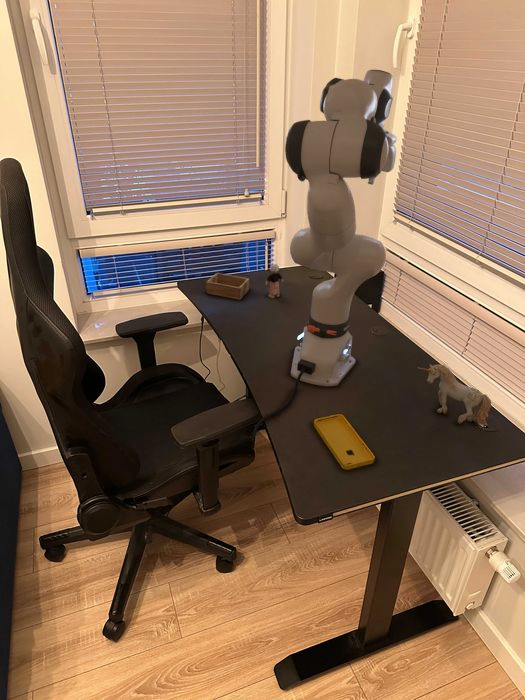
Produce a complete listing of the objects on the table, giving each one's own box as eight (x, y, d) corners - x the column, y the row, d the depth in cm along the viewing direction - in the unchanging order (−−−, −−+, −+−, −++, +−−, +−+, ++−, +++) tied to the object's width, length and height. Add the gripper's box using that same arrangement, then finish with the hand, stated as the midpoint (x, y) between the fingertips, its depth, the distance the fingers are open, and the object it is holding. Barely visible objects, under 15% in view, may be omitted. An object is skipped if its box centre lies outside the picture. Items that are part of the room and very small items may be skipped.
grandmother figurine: (276, 291, 191) (278, 260, 185) (284, 295, 189) (285, 263, 182) (262, 297, 187) (263, 265, 180) (269, 300, 184) (270, 268, 178)
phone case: (341, 417, 129) (341, 413, 128) (375, 462, 115) (376, 458, 114) (312, 423, 126) (312, 419, 125) (344, 470, 113) (344, 466, 112)
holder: (240, 299, 184) (240, 288, 182) (206, 293, 188) (206, 282, 185) (249, 289, 192) (249, 278, 190) (216, 283, 196) (216, 272, 193)
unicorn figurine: (413, 395, 138) (423, 354, 131) (488, 417, 131) (502, 375, 124) (407, 409, 132) (417, 367, 125) (484, 433, 125) (500, 390, 118)
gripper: (330, 126, 148) (321, 174, 156) (397, 140, 142) (385, 190, 149) (336, 124, 153) (327, 171, 160) (402, 138, 147) (389, 186, 154)
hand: (355, 180), depth 155 cm, fingers open, 8 cm apart
